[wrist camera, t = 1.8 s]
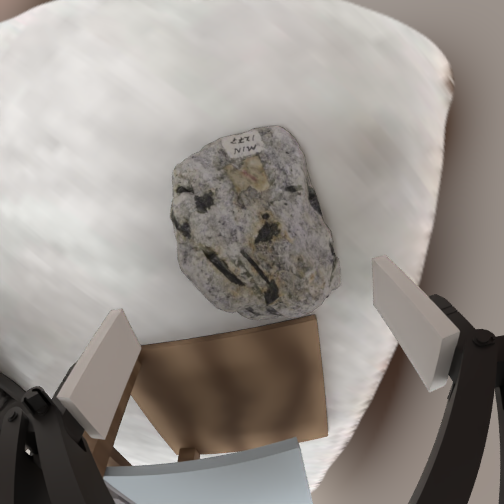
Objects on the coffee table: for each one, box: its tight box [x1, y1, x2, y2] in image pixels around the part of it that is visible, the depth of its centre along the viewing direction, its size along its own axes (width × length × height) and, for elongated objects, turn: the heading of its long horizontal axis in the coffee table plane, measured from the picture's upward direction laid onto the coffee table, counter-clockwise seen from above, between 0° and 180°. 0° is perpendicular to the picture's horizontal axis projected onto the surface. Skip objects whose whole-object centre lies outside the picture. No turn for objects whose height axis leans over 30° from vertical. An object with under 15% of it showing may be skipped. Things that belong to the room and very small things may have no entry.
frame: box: [82, 315, 328, 478], centre depth 24 cm, size 22×21×15 cm
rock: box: [170, 126, 341, 320], centre depth 21 cm, size 15×10×7 cm
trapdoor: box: [103, 437, 313, 504], centre depth 19 cm, size 19×17×2 cm
